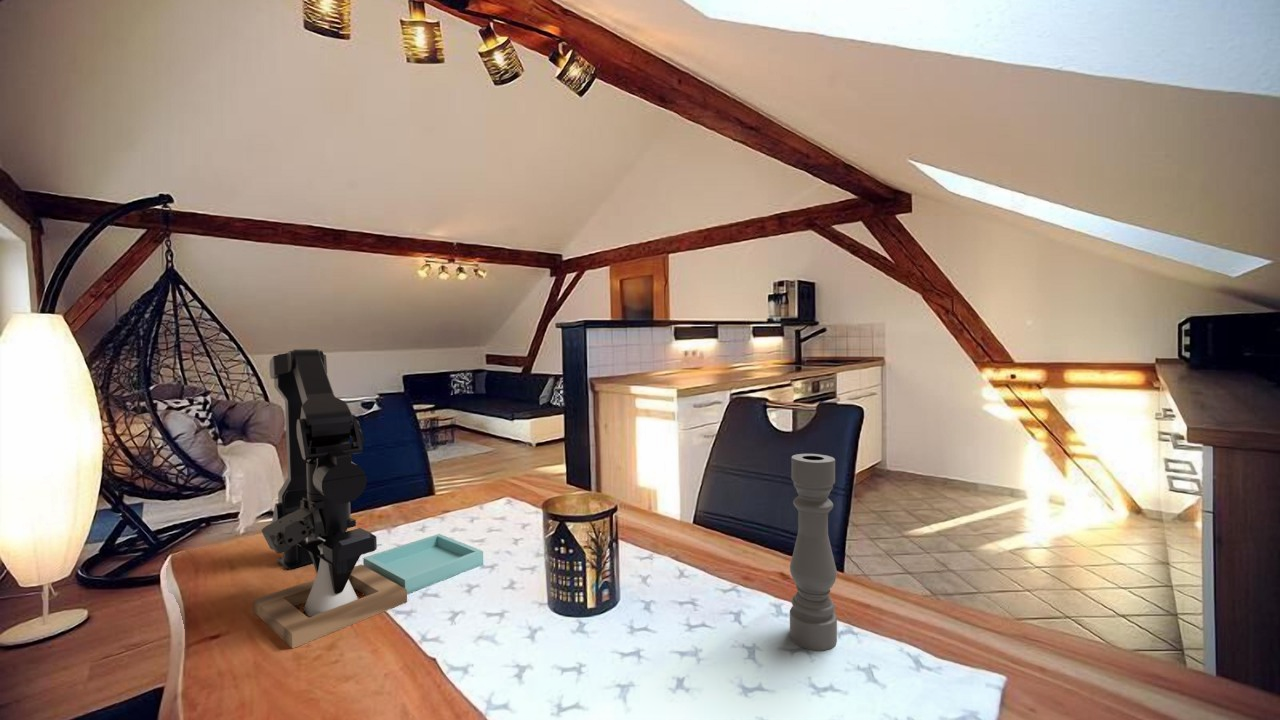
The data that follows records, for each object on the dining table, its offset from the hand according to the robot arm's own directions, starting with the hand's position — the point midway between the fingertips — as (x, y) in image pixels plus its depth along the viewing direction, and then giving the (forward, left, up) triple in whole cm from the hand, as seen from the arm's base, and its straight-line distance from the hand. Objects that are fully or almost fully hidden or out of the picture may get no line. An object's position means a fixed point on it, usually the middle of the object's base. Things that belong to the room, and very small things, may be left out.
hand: (331, 588), depth 81 cm
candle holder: (+63, +37, -3) cm, 73 cm away
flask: (0, 0, -3) cm, 3 cm away
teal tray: (-2, +16, -3) cm, 17 cm away
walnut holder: (0, 0, -3) cm, 3 cm away
